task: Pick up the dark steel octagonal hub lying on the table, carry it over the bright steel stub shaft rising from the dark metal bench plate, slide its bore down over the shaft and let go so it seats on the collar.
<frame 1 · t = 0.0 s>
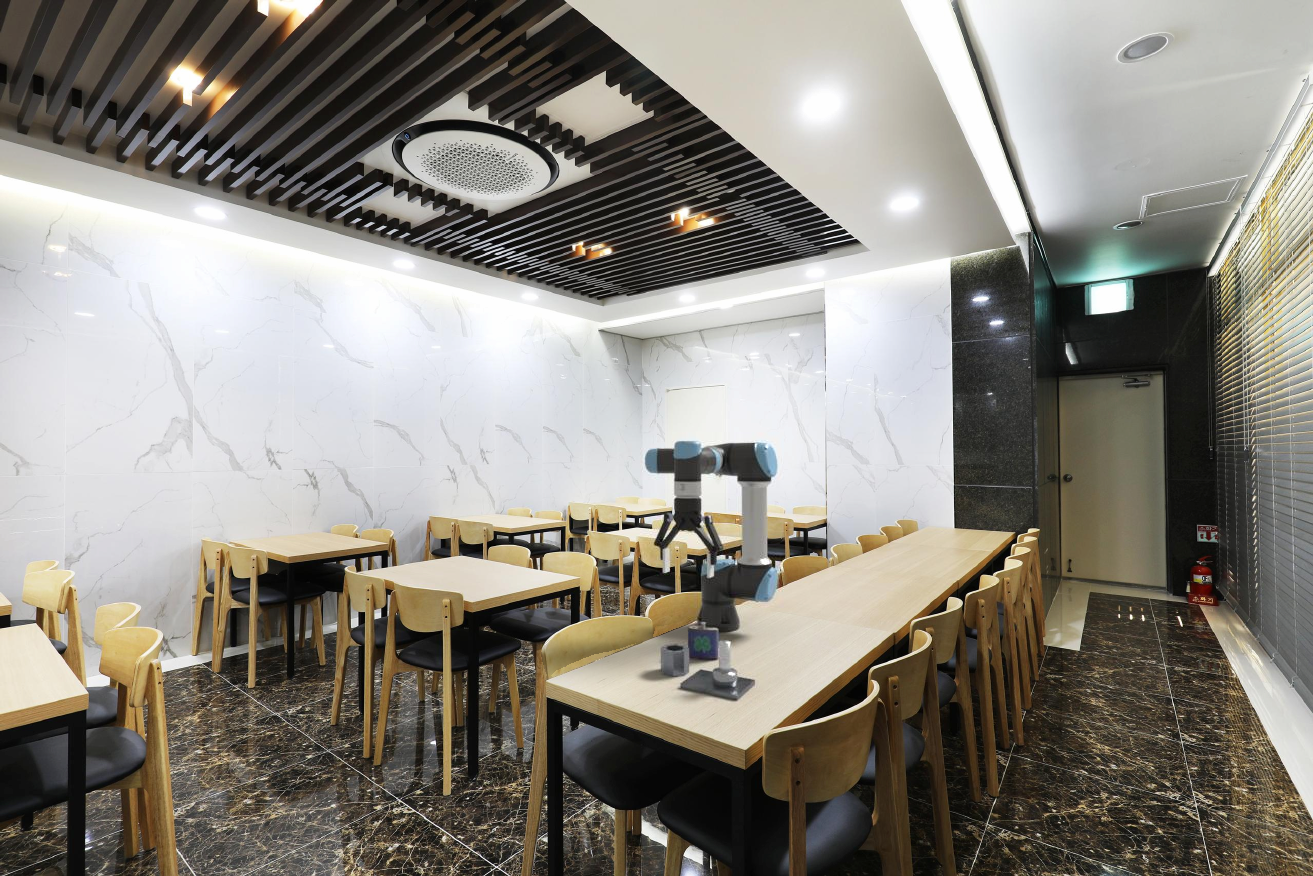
hand: (687, 574, 169), 28 cm above the table, fingers open, 13 cm apart
flask: (703, 658, 184), on the table
hub: (674, 671, 173), on the table
shaft fixture: (724, 687, 161), on the table
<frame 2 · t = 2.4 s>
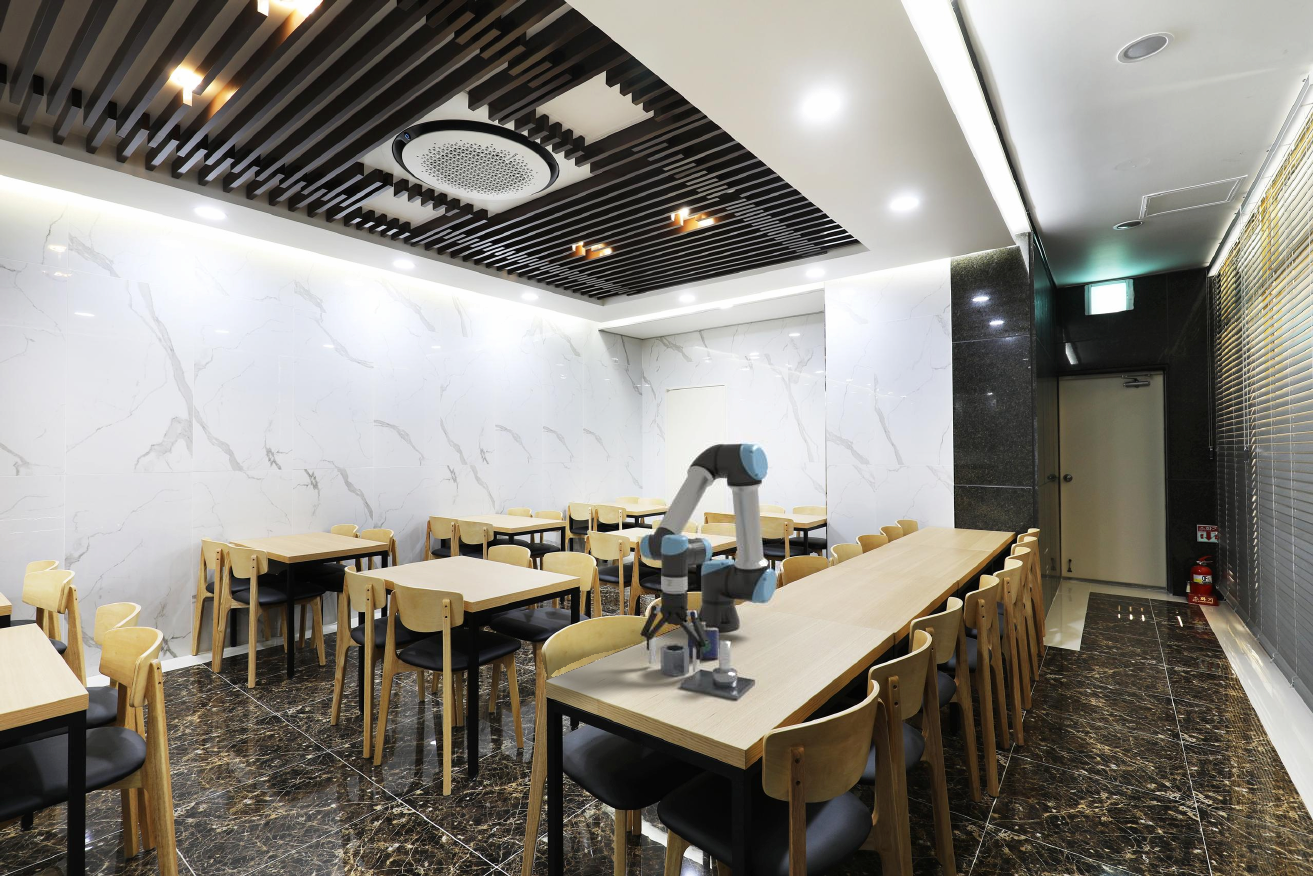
hand: (673, 667, 172), 1 cm above the table, fingers open, 13 cm apart
nothing on the table moved.
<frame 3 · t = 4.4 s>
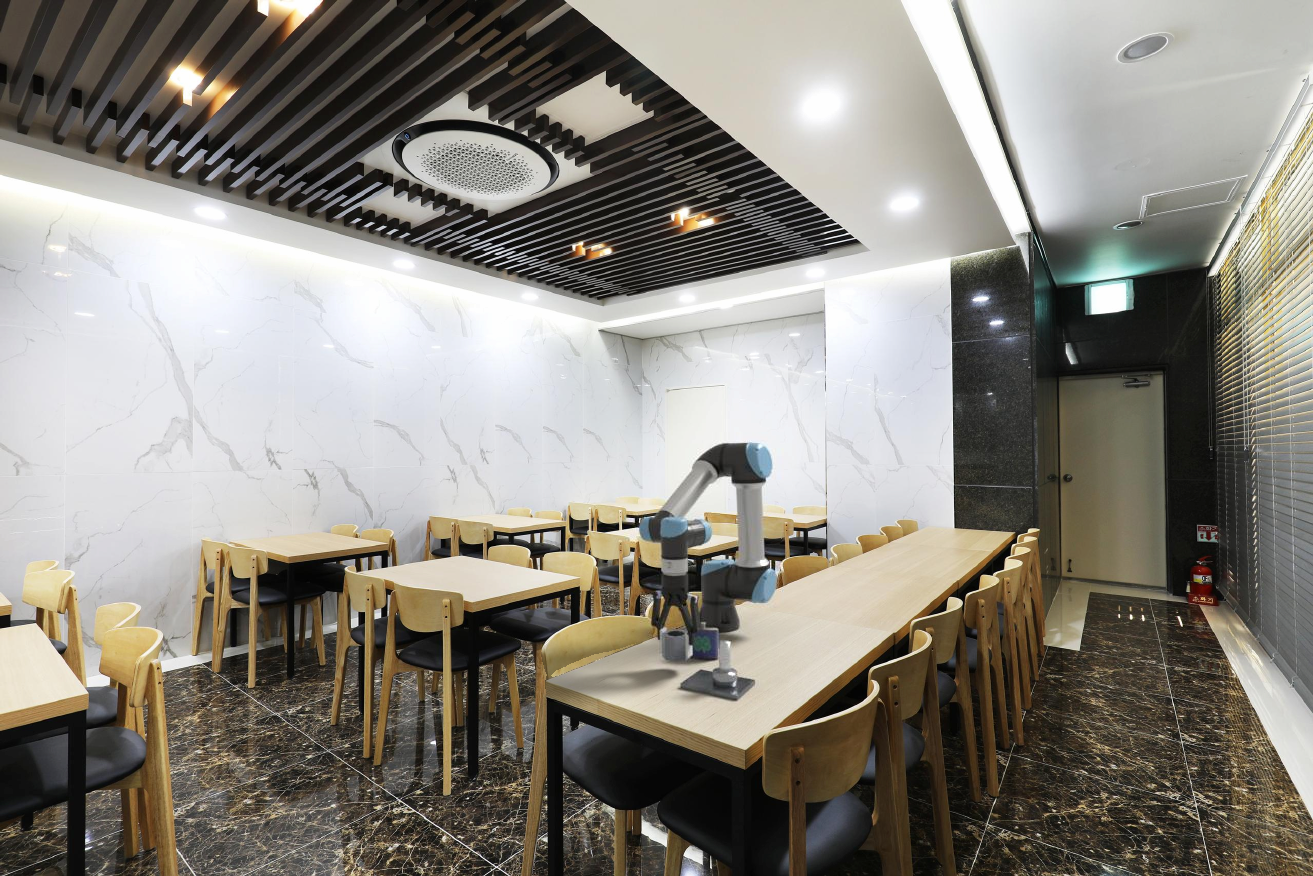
hand: (676, 653, 173), 5 cm above the table, fingers closed on hub, 7 cm apart
hub: (676, 656, 173), point 4 cm above the table, touching gripper
everything else where it was.
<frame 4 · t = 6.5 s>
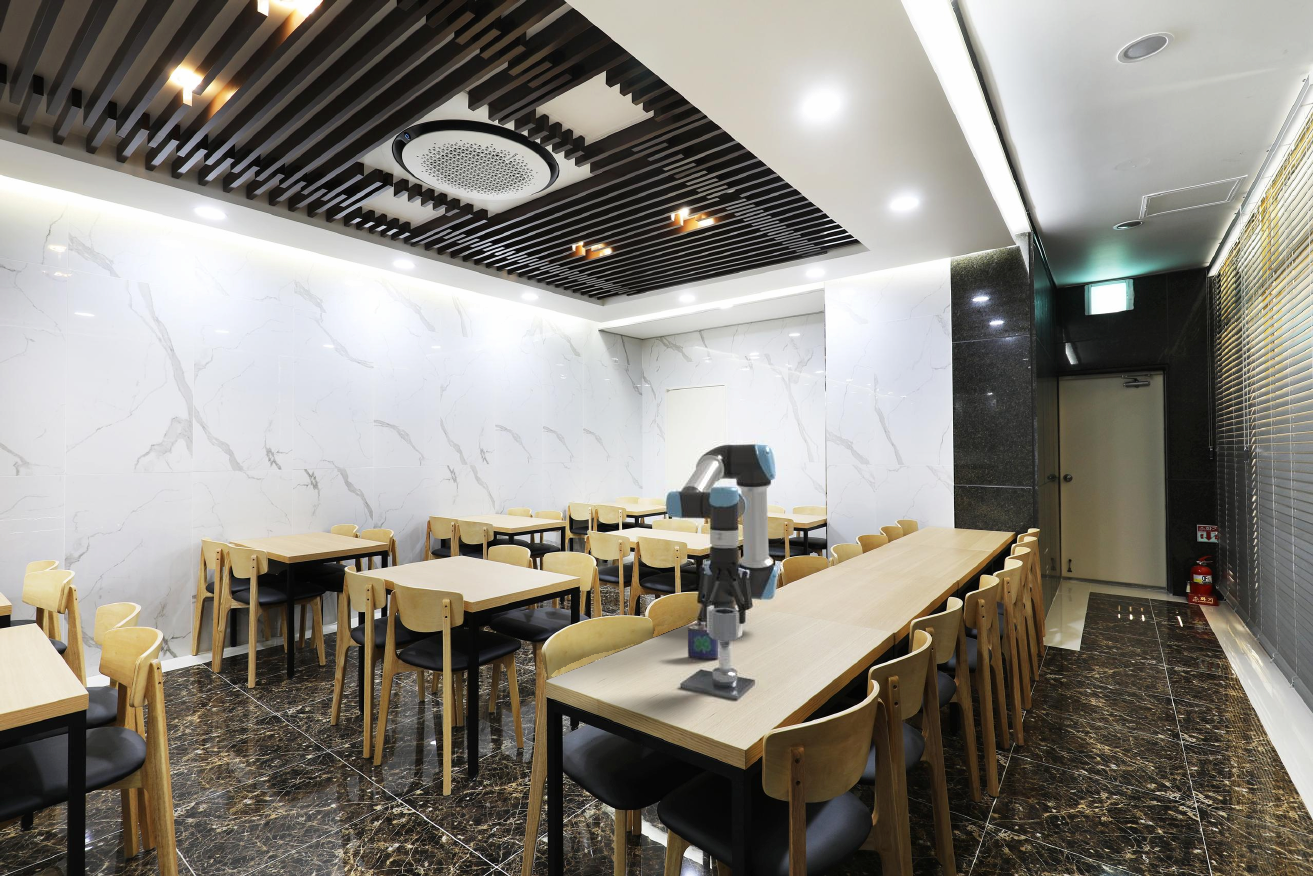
hand: (724, 633, 161), 14 cm above the table, fingers closed on hub, 7 cm apart
hub: (724, 636, 161), point 13 cm above the table, touching gripper
everything else where it was.
when the fingers open (6 cm above the table, at t = 8.9 s): hub stays where it is, resting on shaft fixture.
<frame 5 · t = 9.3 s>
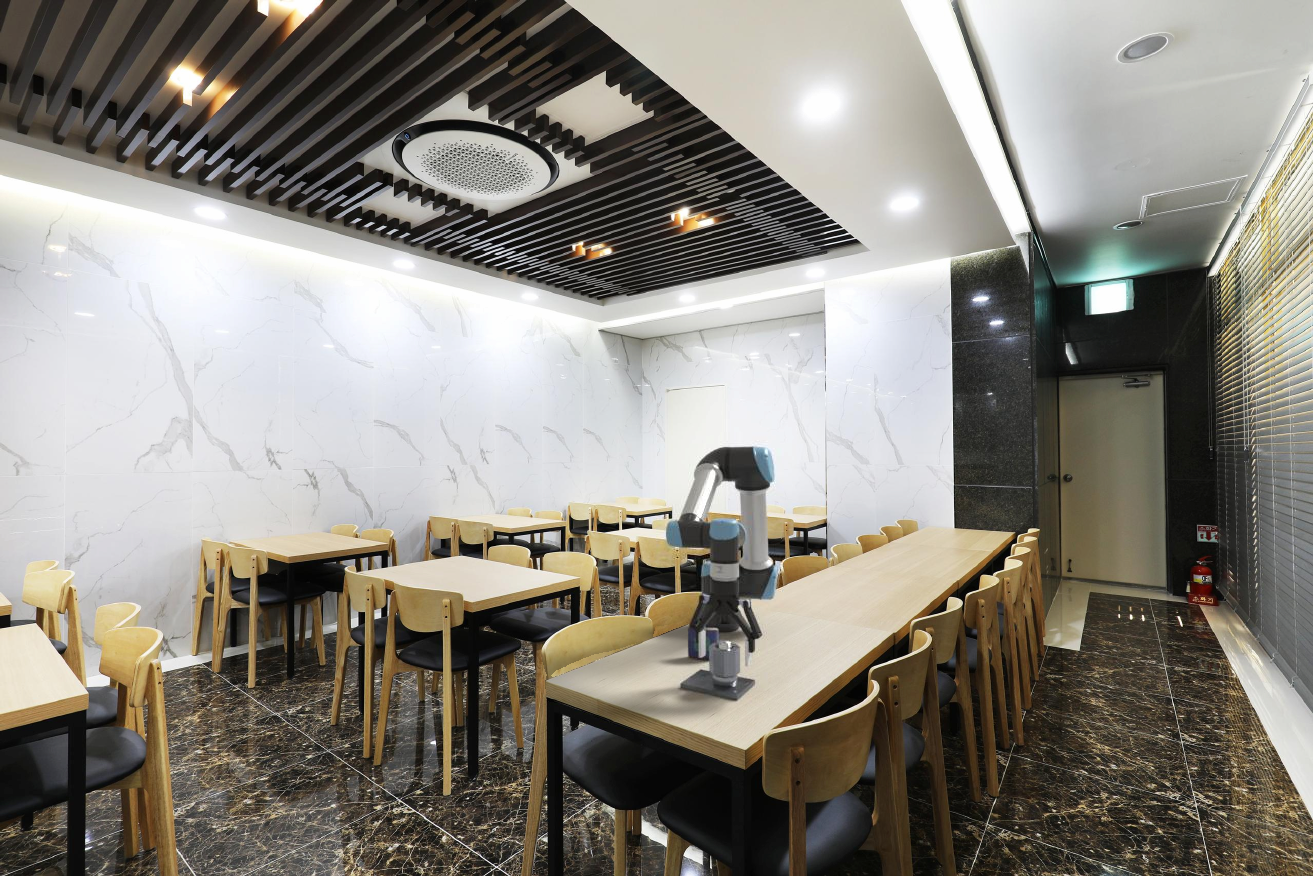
hand: (724, 660, 161), 7 cm above the table, fingers open, 12 cm apart
hub: (724, 671, 161), point 4 cm above the table, touching shaft fixture
everything else where it was.
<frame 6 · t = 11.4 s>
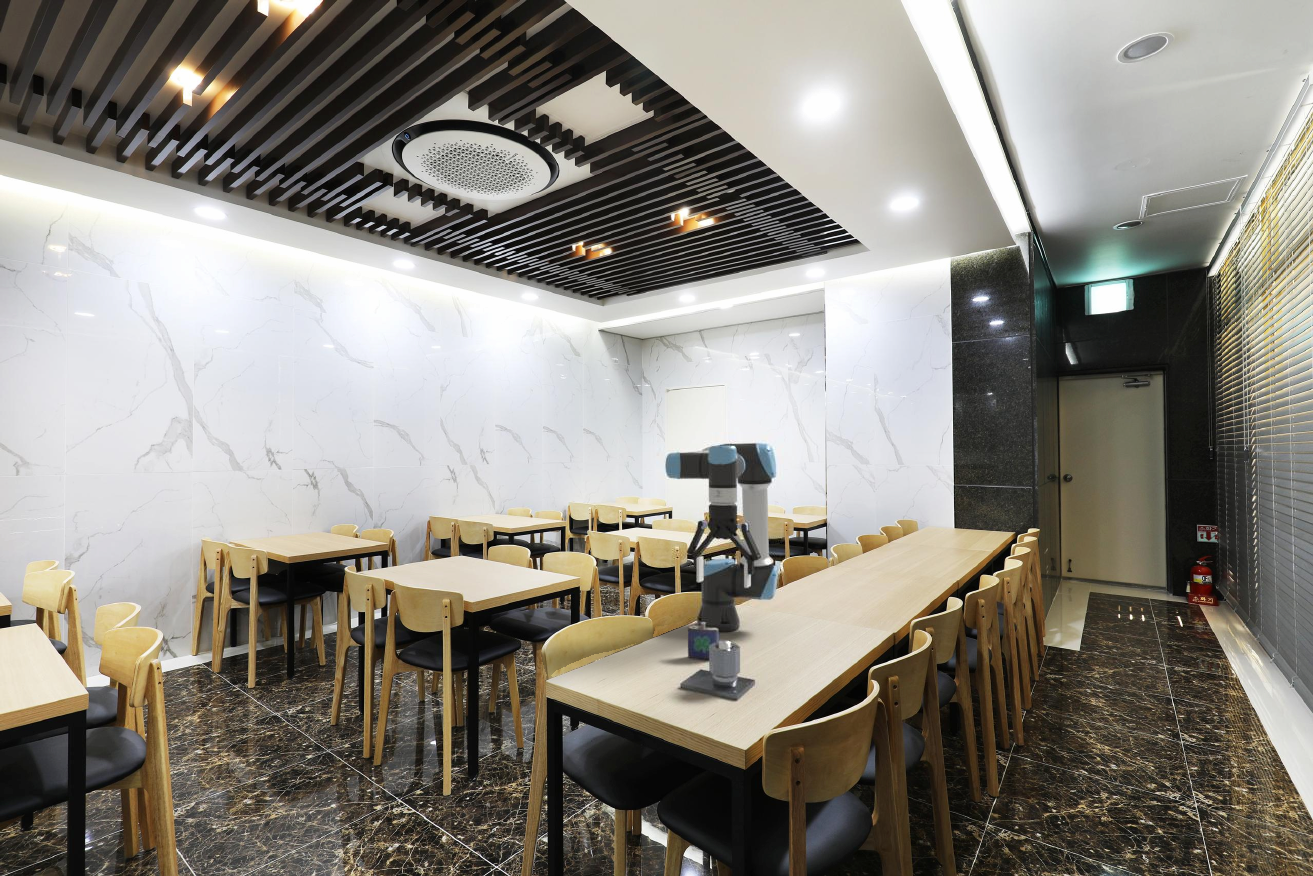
hand: (723, 584, 163), 27 cm above the table, fingers open, 13 cm apart
nothing on the table moved.
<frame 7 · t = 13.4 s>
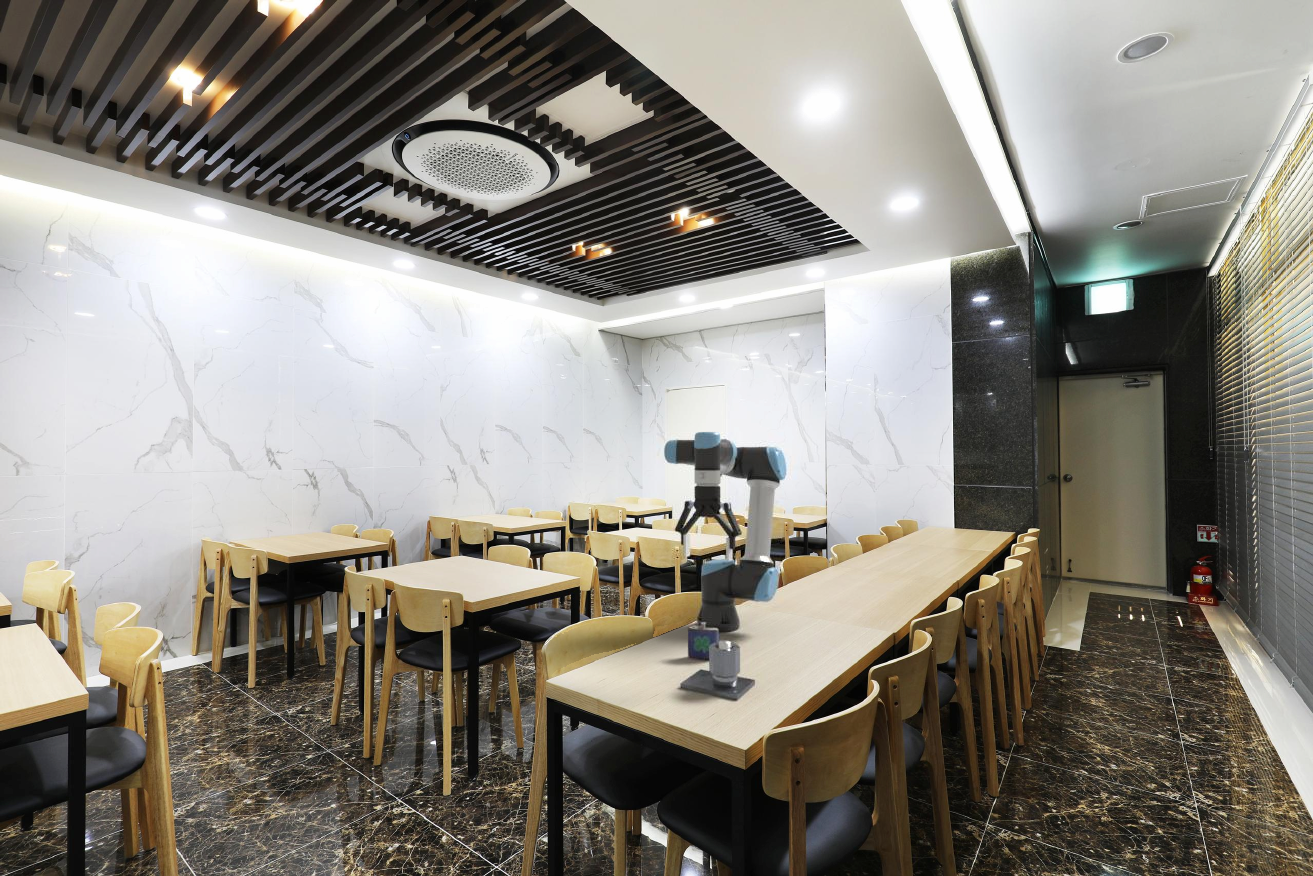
hand: (707, 558, 178), 31 cm above the table, fingers open, 13 cm apart
nothing on the table moved.
at the end: hub 0.1 cm off-centre on the shaft fixture, point 4.2 cm above the shaft fixture's base; hub tilted 0°; the gripper is holding nothing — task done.
